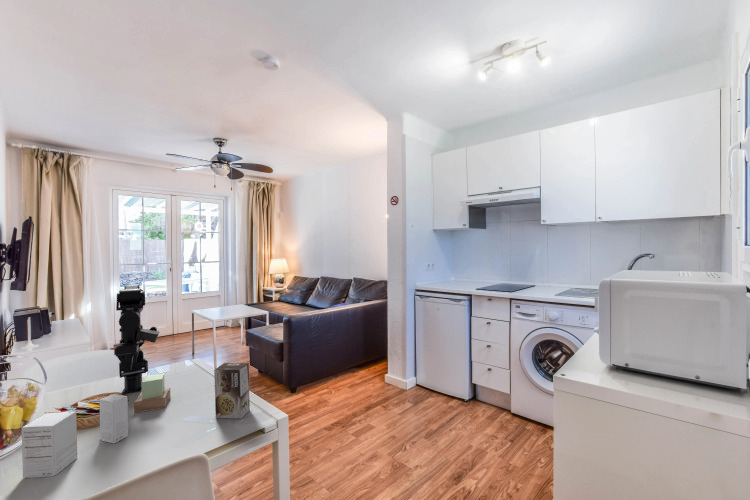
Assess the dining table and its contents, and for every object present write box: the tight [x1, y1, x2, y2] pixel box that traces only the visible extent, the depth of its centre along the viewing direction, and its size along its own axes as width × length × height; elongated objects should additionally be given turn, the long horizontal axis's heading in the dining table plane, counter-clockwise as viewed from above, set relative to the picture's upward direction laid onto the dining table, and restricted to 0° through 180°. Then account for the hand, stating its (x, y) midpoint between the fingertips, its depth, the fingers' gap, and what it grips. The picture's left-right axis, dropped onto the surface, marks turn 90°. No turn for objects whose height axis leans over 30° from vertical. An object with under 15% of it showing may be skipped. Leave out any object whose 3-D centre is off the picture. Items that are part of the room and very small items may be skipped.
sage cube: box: [141, 372, 166, 399], centre depth 118 cm, size 6×6×6 cm
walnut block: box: [133, 387, 171, 413], centre depth 118 cm, size 9×9×4 cm
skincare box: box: [99, 393, 129, 444], centre depth 97 cm, size 6×4×12 cm
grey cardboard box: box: [213, 362, 251, 420], centre depth 110 cm, size 9×6×16 cm
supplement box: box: [21, 411, 78, 479], centre depth 84 cm, size 7×7×13 cm
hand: (131, 367), depth 119 cm, fingers open, 9 cm apart
